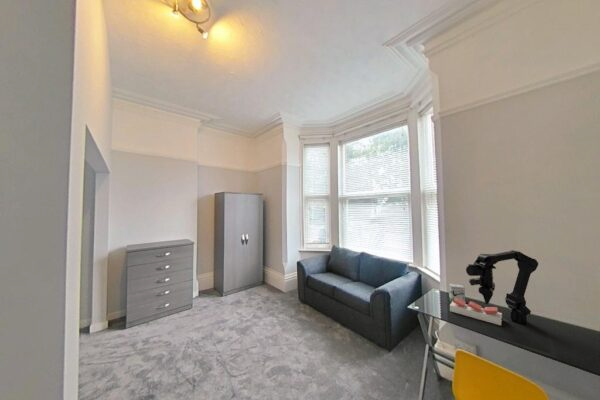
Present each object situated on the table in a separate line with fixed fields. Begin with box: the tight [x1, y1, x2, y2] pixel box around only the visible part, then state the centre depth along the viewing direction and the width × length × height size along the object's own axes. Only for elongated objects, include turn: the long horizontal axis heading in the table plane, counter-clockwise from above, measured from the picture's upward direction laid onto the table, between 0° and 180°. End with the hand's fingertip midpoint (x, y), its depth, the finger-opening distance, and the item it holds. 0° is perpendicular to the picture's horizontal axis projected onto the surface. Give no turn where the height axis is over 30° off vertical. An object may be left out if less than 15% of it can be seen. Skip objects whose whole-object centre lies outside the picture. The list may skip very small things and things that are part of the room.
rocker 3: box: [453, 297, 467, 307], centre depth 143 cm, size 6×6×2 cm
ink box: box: [448, 283, 466, 303], centre depth 157 cm, size 9×5×12 cm, turn 73°
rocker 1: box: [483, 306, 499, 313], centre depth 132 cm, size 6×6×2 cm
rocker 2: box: [467, 300, 482, 311], centre depth 138 cm, size 6×6×2 cm
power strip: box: [449, 301, 509, 326], centre depth 137 cm, size 28×9×4 cm, turn 44°
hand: (487, 301), depth 130 cm, fingers open, 9 cm apart
